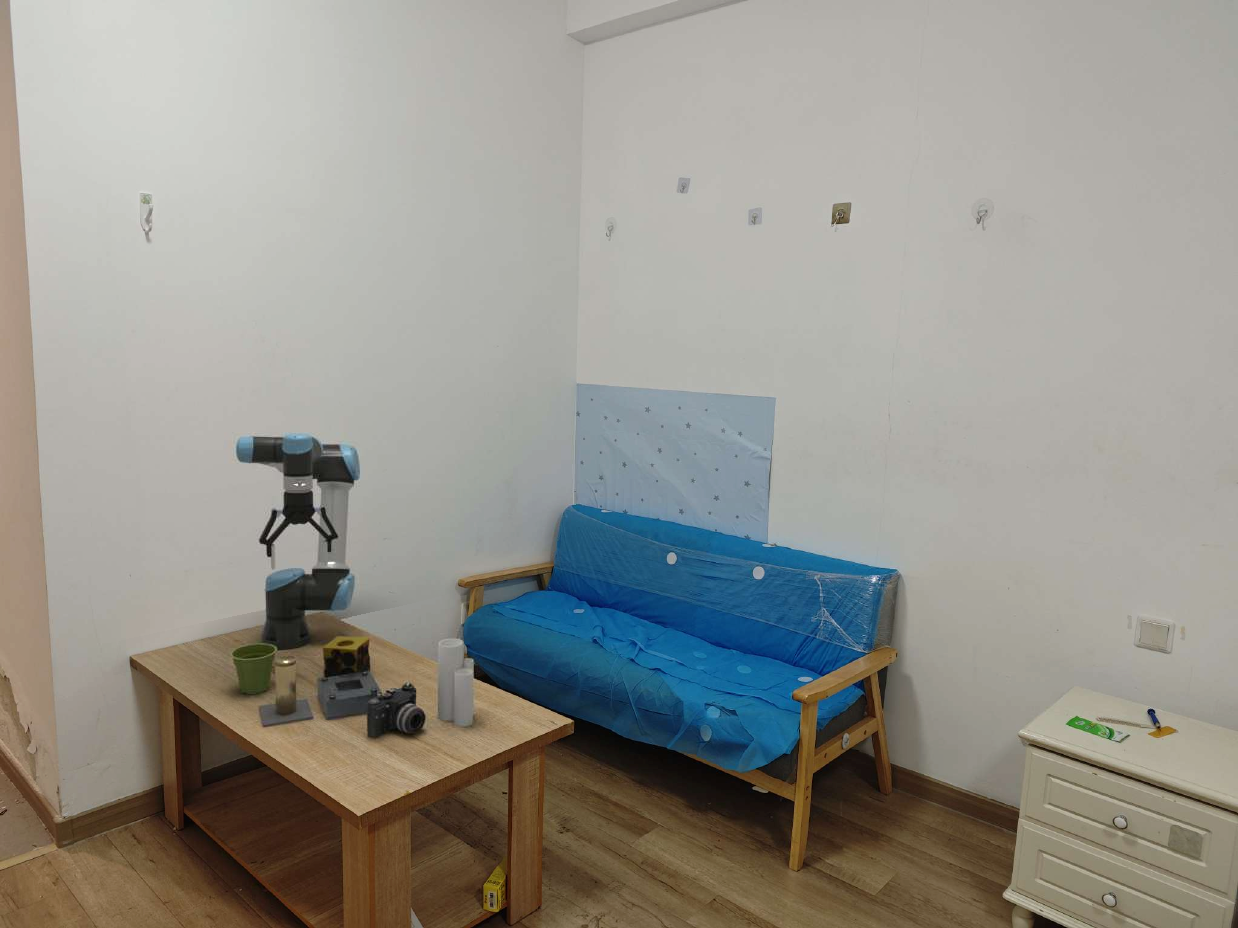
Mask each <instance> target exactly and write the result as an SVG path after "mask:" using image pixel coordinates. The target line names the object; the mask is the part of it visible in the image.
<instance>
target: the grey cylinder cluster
mask: <svg viewBox="0 0 1238 928" xmlns="http://www.w3.org/2000/svg"><path fill="white" fill-rule="evenodd" d="M464 642H465V641H464V640H463V639H459V638H445V639H442V640H440V641H438V644H437V647H438V649H437V651H438V652H437V653H438V654H437V655H438V656H437V719H439V720H441V721H444V722H452V721H453V724H454V725H455V726H457V727H462V728H464V727H465V728H466V727H470V726H471V725H473V722H474V719H473V717H474V679H475V678H474V677H475V676H474V669H475V668H474V663H475V661H474V659H473V658H471V657H469V658H468V657H467V658H466V657H465V658H464V655H465V654H464V651H465V649H464V648H465V647H464V646H465V645H464Z"/></svg>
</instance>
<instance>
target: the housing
mask: <svg viewBox="0 0 1238 928" xmlns="http://www.w3.org/2000/svg"><path fill="white" fill-rule="evenodd" d="M316 684H317V697H318V702H319V703H320V706H321V708H322V711H323V713H324V716H325V718H326V720H334V719H339V718H341V719H342V718H345V717H352V716H357V715H363V714H367V703H368V701H369V700H370V699H373V698H375V697H378V695H377V694H381V695H380V696H382V695H383V691H382V690H381V688H380V687H379V684H378V683H377V681H376V679H375V678H374V676H373V673H372V672H371V671H370V670H369V671H362V672H359V673H352V674H345V675H338V676H332V677H324V676H322V677H320V678H317V683H316Z"/></svg>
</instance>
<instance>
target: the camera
mask: <svg viewBox="0 0 1238 928" xmlns="http://www.w3.org/2000/svg"><path fill="white" fill-rule="evenodd" d="M377 695H378V697H375V698H373V699H370V700H369V701H368V703H367V713H366V734H367V737H368V738H371V739H376V738H378V737H380V736H382V735H384V734H387V733H389V732H392V731H393V730H396V729H398V730H399V731H401V732H405V733H407V734H415V733H418V732H419V731H420V730H421V729H422V728H423V727H424V726H425V723H426V713H425V711H424V709H422V708H421V707H419V706H417V688H416V687H415V685H414V684H412V683H411V682H405V683H404V684H403V685H402V686H401V687H400V688H398V687H396V686H392V687H391V688H387V689H386V692H385V693H382V696H380V695H381V694H377Z"/></svg>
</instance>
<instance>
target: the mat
mask: <svg viewBox="0 0 1238 928" xmlns="http://www.w3.org/2000/svg"><path fill="white" fill-rule="evenodd" d="M258 710H259V714H260V719H261V725H262V727H263V728H266V727H272V726H278V725H279V726H280V725H284V724H285V725H286V724H290V723H297V722H302V721H310V720H313V719H314V714H313V712H312V708H311V706H310V703H309V701H308V698H301V699H296V712H294V713H292V714H289V715H278V714H276V702H274V703H270V704H264V705H258Z"/></svg>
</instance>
